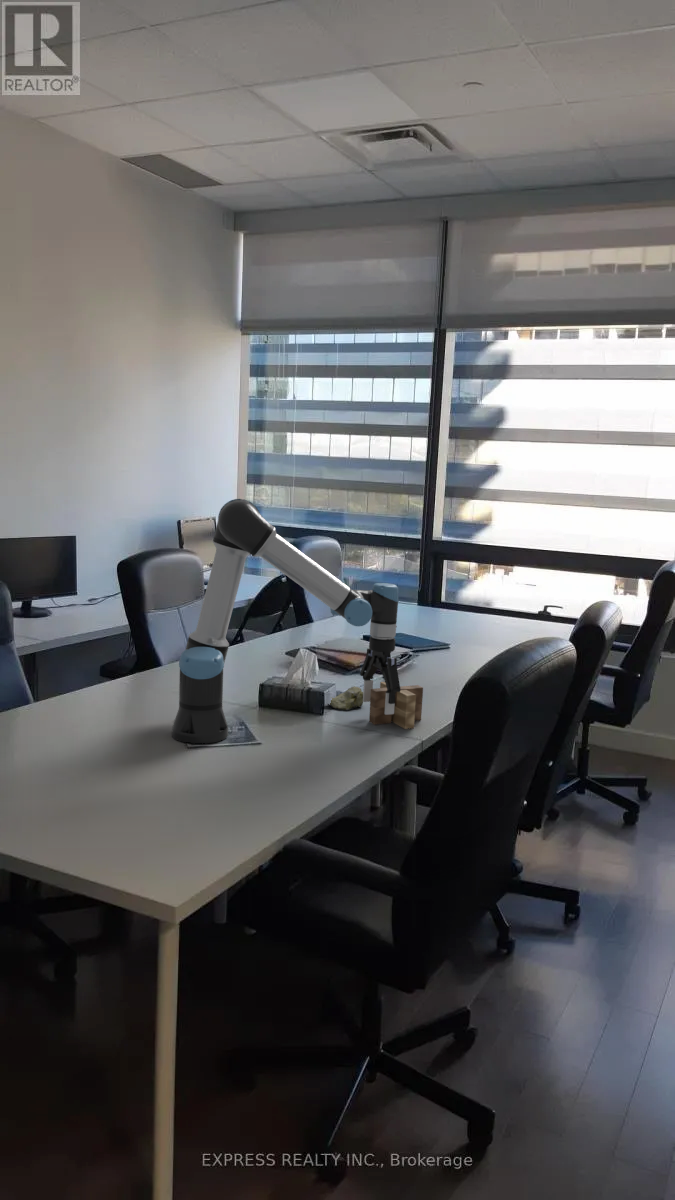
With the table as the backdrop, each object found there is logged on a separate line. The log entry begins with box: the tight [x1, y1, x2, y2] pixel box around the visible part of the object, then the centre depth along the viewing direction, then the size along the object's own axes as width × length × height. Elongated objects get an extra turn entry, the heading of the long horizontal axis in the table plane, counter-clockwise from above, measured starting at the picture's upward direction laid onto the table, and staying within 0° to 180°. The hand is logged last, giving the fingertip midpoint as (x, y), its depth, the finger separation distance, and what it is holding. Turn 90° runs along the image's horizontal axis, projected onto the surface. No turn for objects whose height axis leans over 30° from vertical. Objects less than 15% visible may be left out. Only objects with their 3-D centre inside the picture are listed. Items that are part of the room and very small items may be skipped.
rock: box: [330, 686, 364, 711], centre depth 281 cm, size 11×6×10 cm
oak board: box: [379, 681, 416, 730], centre depth 268 cm, size 3×16×10 cm, turn 26°
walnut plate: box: [368, 684, 424, 726], centre depth 267 cm, size 16×3×10 cm, turn 116°
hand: (377, 707), depth 265 cm, fingers open, 13 cm apart
